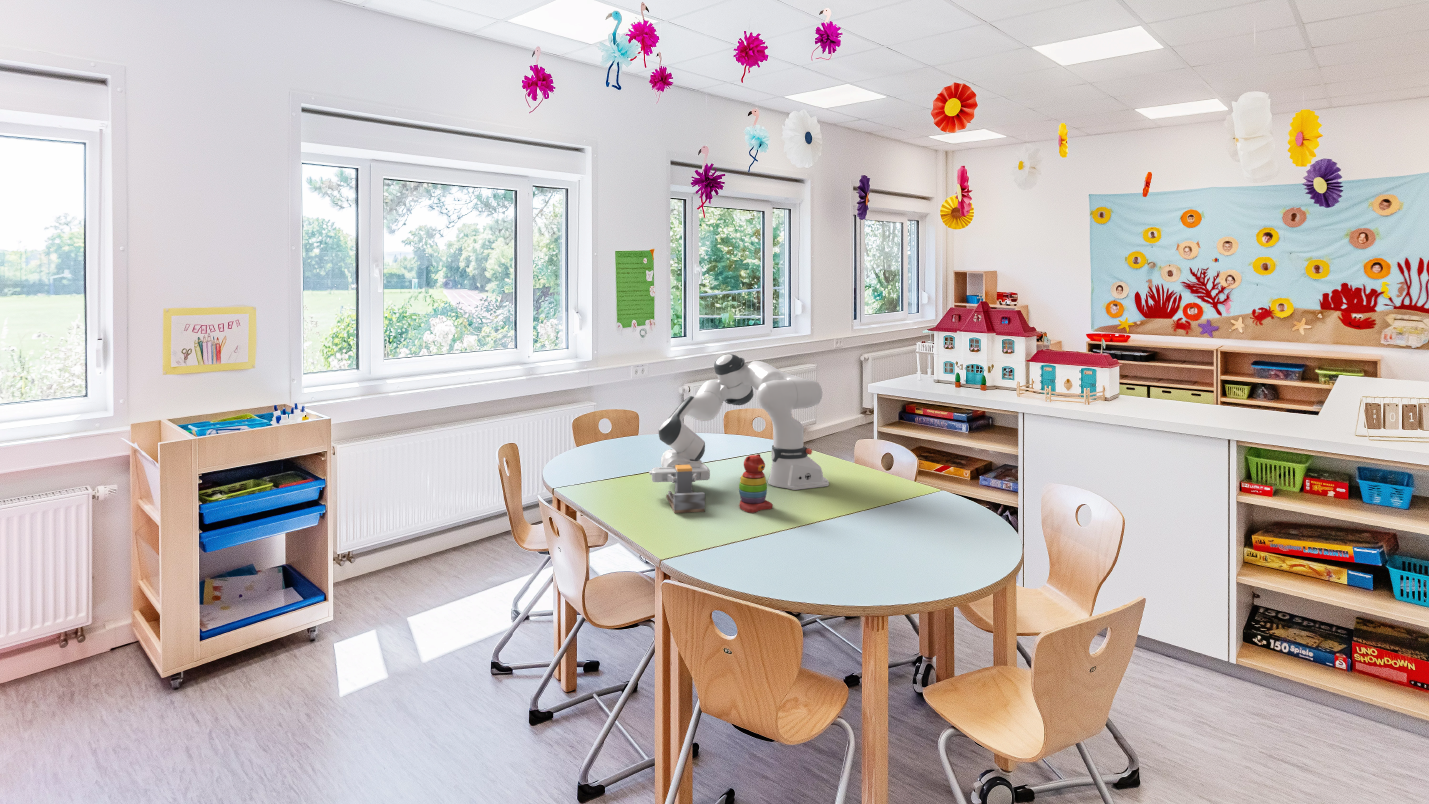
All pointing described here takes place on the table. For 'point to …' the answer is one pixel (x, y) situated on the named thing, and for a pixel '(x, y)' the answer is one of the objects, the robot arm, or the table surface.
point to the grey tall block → (683, 479)
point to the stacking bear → (753, 485)
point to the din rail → (686, 502)
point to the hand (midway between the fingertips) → (683, 480)
